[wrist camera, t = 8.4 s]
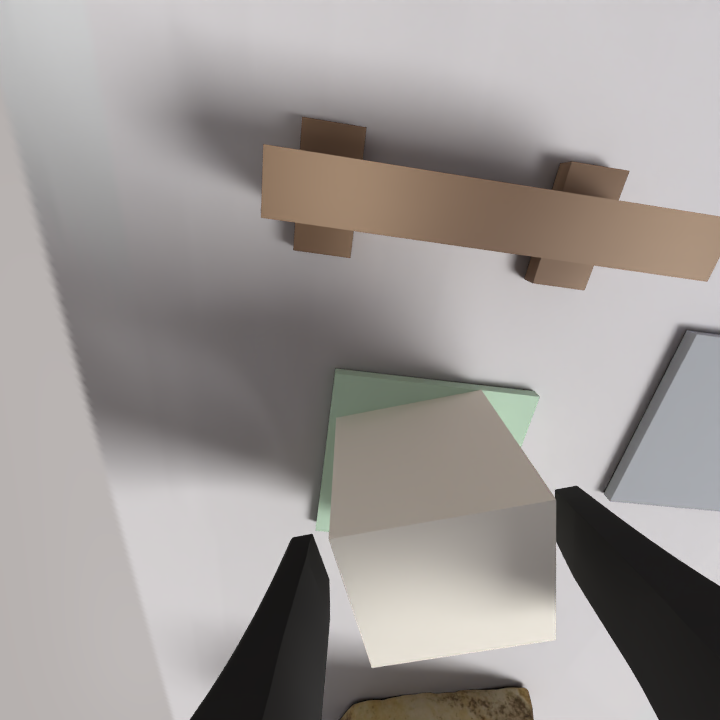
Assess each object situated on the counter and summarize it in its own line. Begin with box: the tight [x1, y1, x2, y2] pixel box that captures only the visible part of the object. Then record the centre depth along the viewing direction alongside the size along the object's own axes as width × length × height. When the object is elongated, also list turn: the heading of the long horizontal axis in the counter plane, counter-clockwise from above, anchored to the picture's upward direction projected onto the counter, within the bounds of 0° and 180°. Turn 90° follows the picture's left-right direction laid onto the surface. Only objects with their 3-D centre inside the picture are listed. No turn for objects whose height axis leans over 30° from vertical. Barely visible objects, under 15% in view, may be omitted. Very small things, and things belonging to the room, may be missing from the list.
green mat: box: [316, 368, 540, 532], centre depth 14 cm, size 7×7×1 cm
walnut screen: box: [261, 117, 720, 290], centre depth 9 cm, size 9×3×4 cm, turn 82°
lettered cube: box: [329, 390, 556, 668], centre depth 12 cm, size 5×5×5 cm
